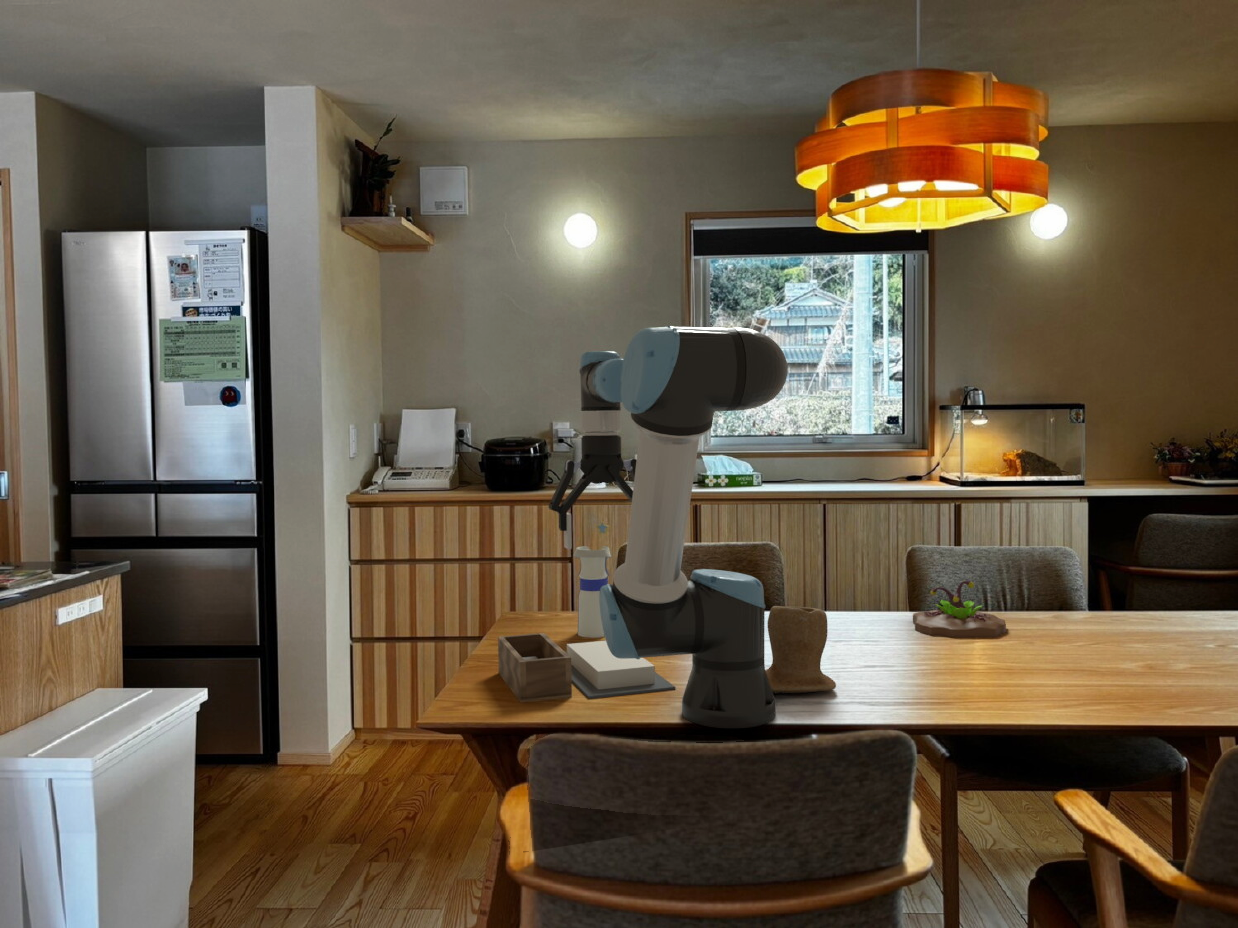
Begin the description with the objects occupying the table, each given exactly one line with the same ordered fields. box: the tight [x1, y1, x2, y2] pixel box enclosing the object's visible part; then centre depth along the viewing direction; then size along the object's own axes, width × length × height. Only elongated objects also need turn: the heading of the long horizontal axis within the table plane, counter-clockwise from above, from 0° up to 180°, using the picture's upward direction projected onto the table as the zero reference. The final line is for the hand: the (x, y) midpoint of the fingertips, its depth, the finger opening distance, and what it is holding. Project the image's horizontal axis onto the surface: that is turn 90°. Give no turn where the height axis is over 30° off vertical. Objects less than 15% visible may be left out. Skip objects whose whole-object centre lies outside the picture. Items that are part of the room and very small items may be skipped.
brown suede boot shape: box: [765, 605, 837, 694], centre depth 168 cm, size 15×12×15 cm
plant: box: [912, 580, 1007, 639], centre depth 214 cm, size 20×20×11 cm
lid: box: [566, 640, 656, 690], centre depth 180 cm, size 22×11×3 cm, turn 18°
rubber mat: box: [571, 664, 676, 700], centre depth 180 cm, size 28×16×1 cm, turn 18°
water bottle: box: [572, 520, 612, 639], centre depth 213 cm, size 8×9×25 cm
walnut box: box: [497, 632, 573, 704], centre depth 173 cm, size 20×9×7 cm, turn 18°
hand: (602, 546), depth 181 cm, fingers open, 13 cm apart
